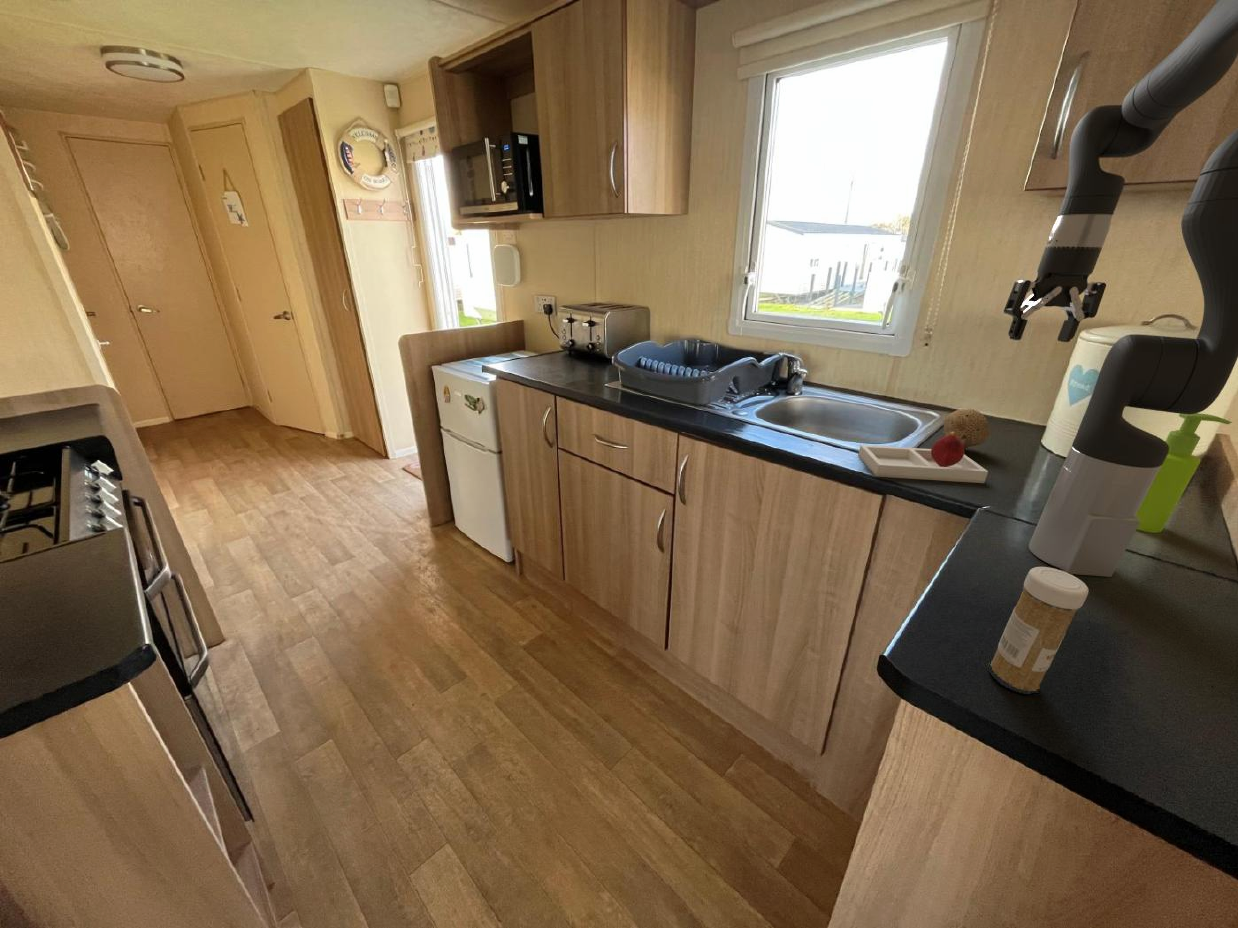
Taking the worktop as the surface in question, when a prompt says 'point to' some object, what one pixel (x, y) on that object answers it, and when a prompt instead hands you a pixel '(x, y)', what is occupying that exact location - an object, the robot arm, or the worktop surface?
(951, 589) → the worktop surface
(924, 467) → the well holder
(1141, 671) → the worktop surface
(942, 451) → the onion
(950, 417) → the natural sponge
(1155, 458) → the robot arm
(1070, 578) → the sprinkles bottle
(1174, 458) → the soap dispenser
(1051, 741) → the worktop surface
